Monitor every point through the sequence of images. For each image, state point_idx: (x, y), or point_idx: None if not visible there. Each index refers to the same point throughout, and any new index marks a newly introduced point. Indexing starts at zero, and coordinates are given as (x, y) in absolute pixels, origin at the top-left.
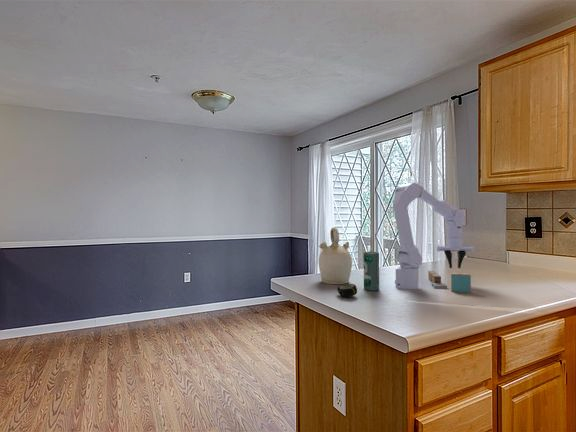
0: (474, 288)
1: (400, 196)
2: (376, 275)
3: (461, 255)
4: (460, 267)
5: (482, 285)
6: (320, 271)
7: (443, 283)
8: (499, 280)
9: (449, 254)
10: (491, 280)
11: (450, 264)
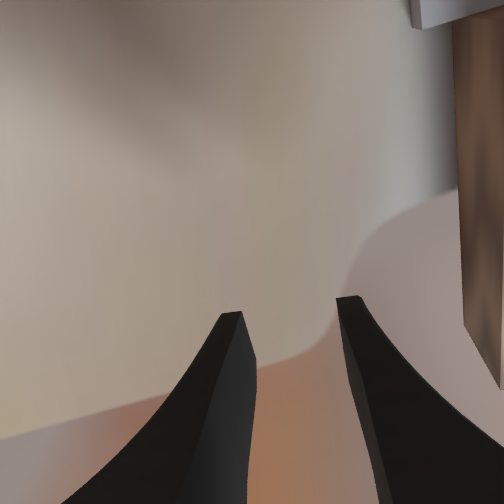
0: (84, 36)
1: None
2: None
3: (137, 497)
4: (216, 323)
5: (57, 224)
6: None
7: (433, 13)
8: (12, 419)
9: (471, 496)
10: (53, 407)
11: (368, 325)
